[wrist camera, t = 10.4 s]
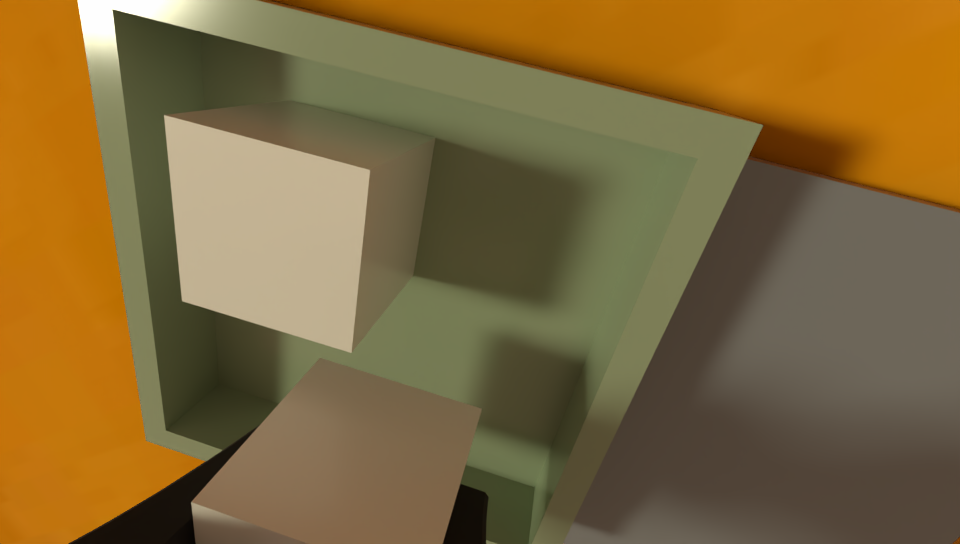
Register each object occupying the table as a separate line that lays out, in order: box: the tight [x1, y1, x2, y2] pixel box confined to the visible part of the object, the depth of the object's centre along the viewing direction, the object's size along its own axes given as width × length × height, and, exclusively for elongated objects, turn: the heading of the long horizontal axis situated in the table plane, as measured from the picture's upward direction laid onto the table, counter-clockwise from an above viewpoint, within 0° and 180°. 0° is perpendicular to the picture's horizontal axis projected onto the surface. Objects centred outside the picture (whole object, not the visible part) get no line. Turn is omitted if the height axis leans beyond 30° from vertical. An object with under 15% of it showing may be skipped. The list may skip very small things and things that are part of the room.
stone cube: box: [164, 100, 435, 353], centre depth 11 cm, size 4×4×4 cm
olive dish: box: [78, 0, 763, 544], centre depth 13 cm, size 14×14×3 cm
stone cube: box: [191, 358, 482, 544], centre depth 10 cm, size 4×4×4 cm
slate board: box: [563, 156, 960, 544], centre depth 13 cm, size 14×10×1 cm
